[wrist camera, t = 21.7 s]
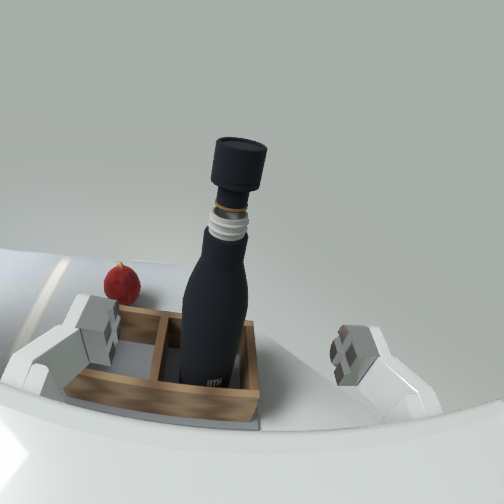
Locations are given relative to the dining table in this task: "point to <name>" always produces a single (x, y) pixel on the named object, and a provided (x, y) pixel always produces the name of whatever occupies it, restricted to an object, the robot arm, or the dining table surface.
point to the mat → (138, 365)
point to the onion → (122, 284)
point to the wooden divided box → (154, 389)
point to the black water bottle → (220, 270)
